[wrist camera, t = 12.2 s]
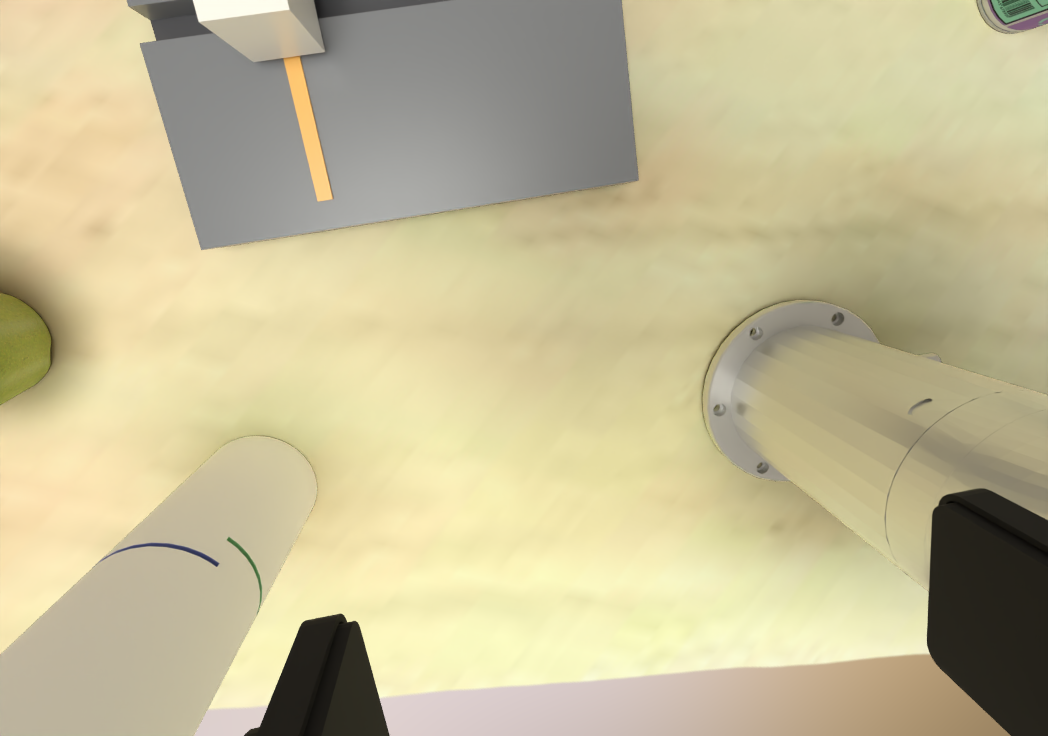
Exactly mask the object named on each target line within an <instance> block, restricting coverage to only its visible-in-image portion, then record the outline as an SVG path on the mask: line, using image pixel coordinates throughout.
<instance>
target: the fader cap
mask: <svg viewBox="0 0 1048 736" xmlns="http://www.w3.org/2000/svg"><path fill="white" fill-rule="evenodd" d="M193 3H194V6H195V10H196V14H197V17H198V21H199V23H201V24H202V25H204V26H205V27H206V28H208V29H209V30H210V31H212V32H213V33H214V34H216V35H217V36H218V37H220V38H221V39H223V40H224V41H225V42H227V43H228V44H229V45H231V46H232V47H233V48H235V49H236V50H237V51H239V52H240V53H242V54H243V55H244V56H246V57H247V58H248V59H250V60H251V61H252V62H259V61H266V60H273V59H280V58H287V57H294V56H301V55H308V54H315V53H323V52H325V49H324V44H323V40H322V35H321V31H320V26H319V22H318V17H317V13H316V8H315V4H314V0H193Z"/></svg>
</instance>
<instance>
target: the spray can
mask: <svg viewBox="0 0 1048 736" xmlns="http://www.w3.org/2000/svg"><path fill="white" fill-rule="evenodd" d="M977 4H978V8H979V10H980V13H981V15H982V17H983V18H984V20H985V21H986V23H988V24H989V25H990V26H991V27H992V28H994V29H995V30H997V31H999V32H1003V33H1018V32H1022V31H1026V30H1030V29H1033V28H1036V27H1039V26H1042V25H1045V24H1048V0H977Z"/></svg>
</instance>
